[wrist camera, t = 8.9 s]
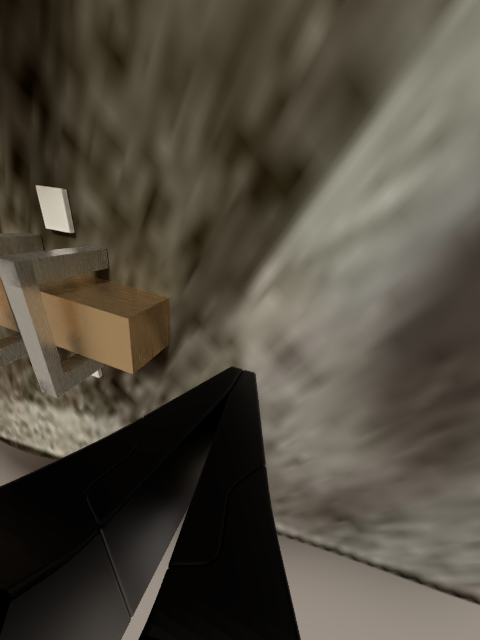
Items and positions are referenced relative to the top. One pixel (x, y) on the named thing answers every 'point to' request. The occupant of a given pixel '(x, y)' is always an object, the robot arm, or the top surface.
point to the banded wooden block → (101, 320)
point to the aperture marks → (57, 215)
